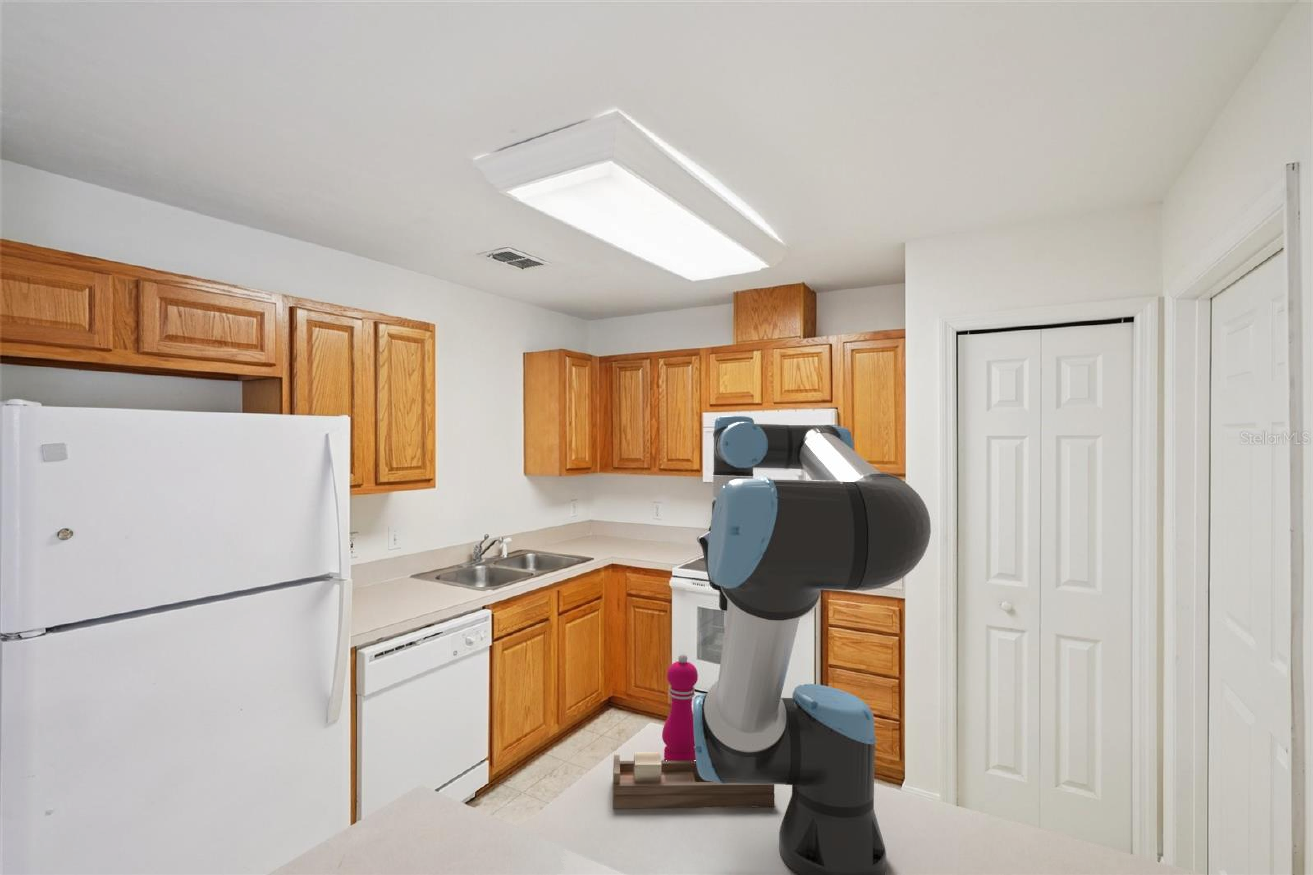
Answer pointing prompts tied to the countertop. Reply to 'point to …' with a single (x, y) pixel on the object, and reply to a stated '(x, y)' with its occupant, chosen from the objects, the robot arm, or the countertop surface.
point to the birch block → (647, 767)
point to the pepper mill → (680, 712)
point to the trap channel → (683, 789)
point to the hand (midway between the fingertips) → (729, 628)
